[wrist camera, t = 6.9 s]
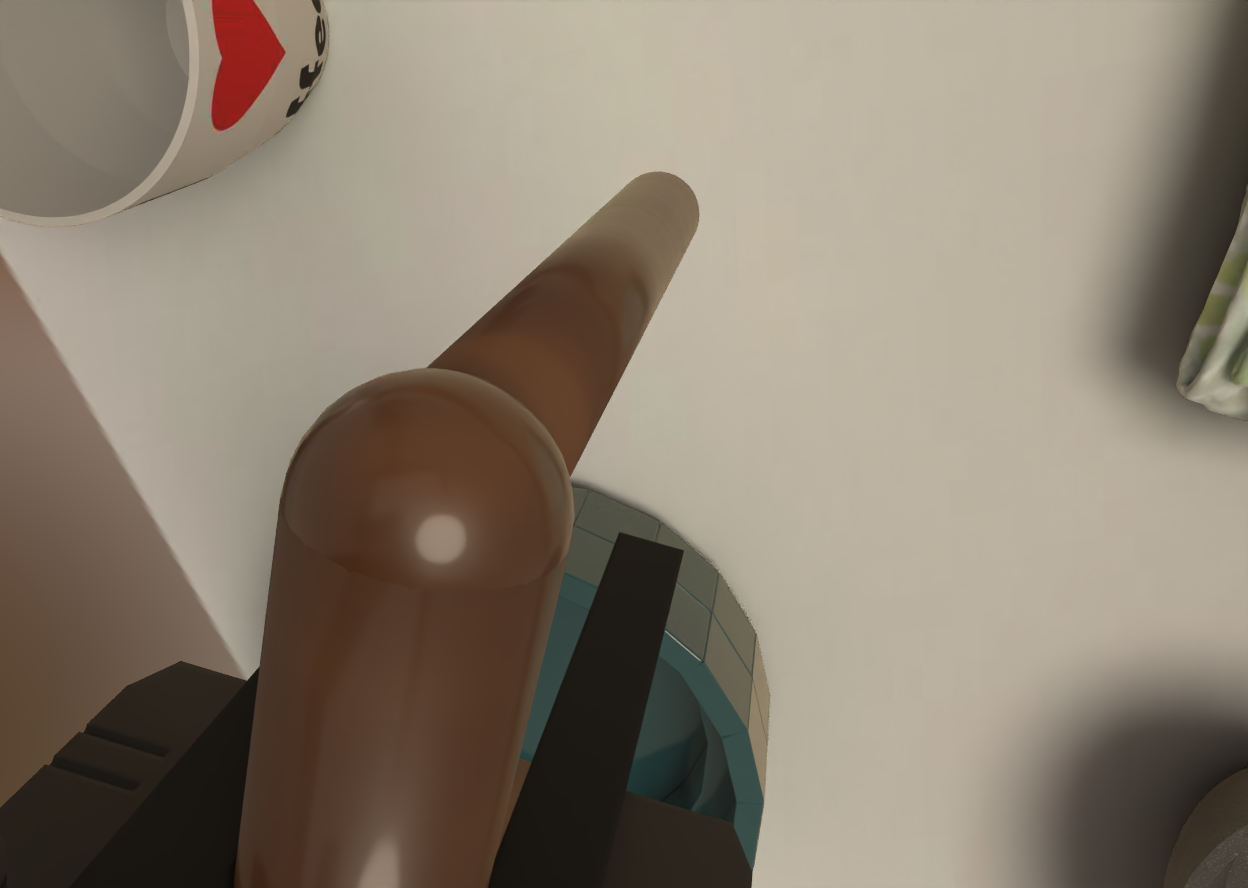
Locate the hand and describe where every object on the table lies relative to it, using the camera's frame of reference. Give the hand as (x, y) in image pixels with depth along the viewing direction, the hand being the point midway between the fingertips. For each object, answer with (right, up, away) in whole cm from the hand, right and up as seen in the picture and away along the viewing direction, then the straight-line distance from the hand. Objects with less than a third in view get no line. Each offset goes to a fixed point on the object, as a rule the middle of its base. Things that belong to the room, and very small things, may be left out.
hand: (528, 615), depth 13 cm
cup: (-10, +14, +19) cm, 26 cm away
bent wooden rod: (0, -1, +6) cm, 6 cm away
